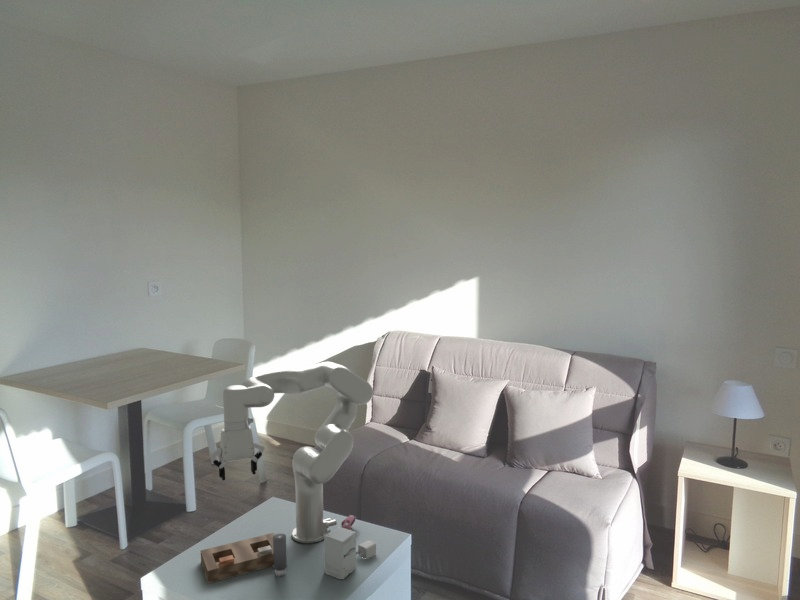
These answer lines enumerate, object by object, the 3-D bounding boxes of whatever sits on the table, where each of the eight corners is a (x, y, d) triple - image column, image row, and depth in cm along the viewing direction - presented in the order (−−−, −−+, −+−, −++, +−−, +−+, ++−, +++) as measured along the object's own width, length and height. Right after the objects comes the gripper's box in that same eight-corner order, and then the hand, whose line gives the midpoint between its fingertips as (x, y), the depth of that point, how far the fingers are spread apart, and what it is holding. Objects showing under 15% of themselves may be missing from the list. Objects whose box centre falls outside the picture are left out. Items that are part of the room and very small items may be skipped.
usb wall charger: (376, 555, 193) (376, 543, 193) (360, 563, 188) (360, 551, 188) (367, 550, 196) (367, 539, 195) (352, 559, 191) (352, 547, 190)
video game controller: (344, 544, 203) (352, 528, 201) (332, 537, 203) (341, 521, 202) (351, 530, 212) (360, 514, 211) (341, 523, 213) (349, 508, 211)
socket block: (273, 543, 200) (273, 528, 199) (285, 562, 189) (284, 546, 188) (201, 562, 189) (200, 546, 188) (208, 583, 177) (207, 566, 177)
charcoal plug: (284, 568, 185) (283, 532, 184) (288, 574, 182) (287, 538, 181) (272, 571, 184) (271, 535, 182) (275, 578, 180) (274, 541, 179)
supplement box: (342, 580, 179) (342, 541, 177) (323, 573, 183) (323, 535, 181) (356, 569, 185) (356, 531, 183) (338, 562, 189) (337, 525, 187)
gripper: (260, 417, 193) (262, 466, 195) (206, 425, 185) (208, 476, 187) (266, 423, 186) (268, 474, 188) (210, 432, 178) (212, 485, 180)
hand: (238, 475), depth 188 cm, fingers open, 9 cm apart
